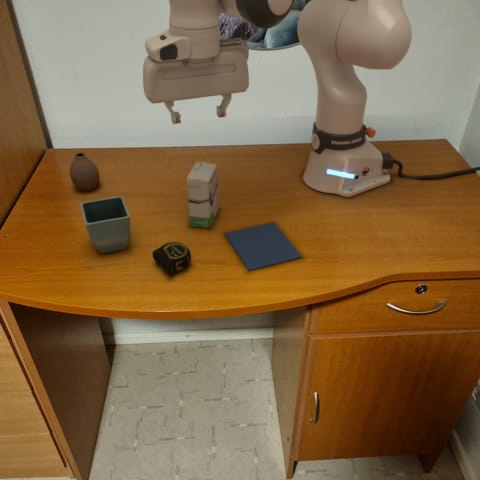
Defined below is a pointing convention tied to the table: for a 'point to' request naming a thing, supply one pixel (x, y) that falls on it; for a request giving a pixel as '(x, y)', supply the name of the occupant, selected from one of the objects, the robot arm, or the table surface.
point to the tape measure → (172, 257)
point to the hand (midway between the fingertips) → (199, 119)
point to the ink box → (202, 194)
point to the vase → (84, 172)
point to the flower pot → (107, 223)
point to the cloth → (262, 246)
